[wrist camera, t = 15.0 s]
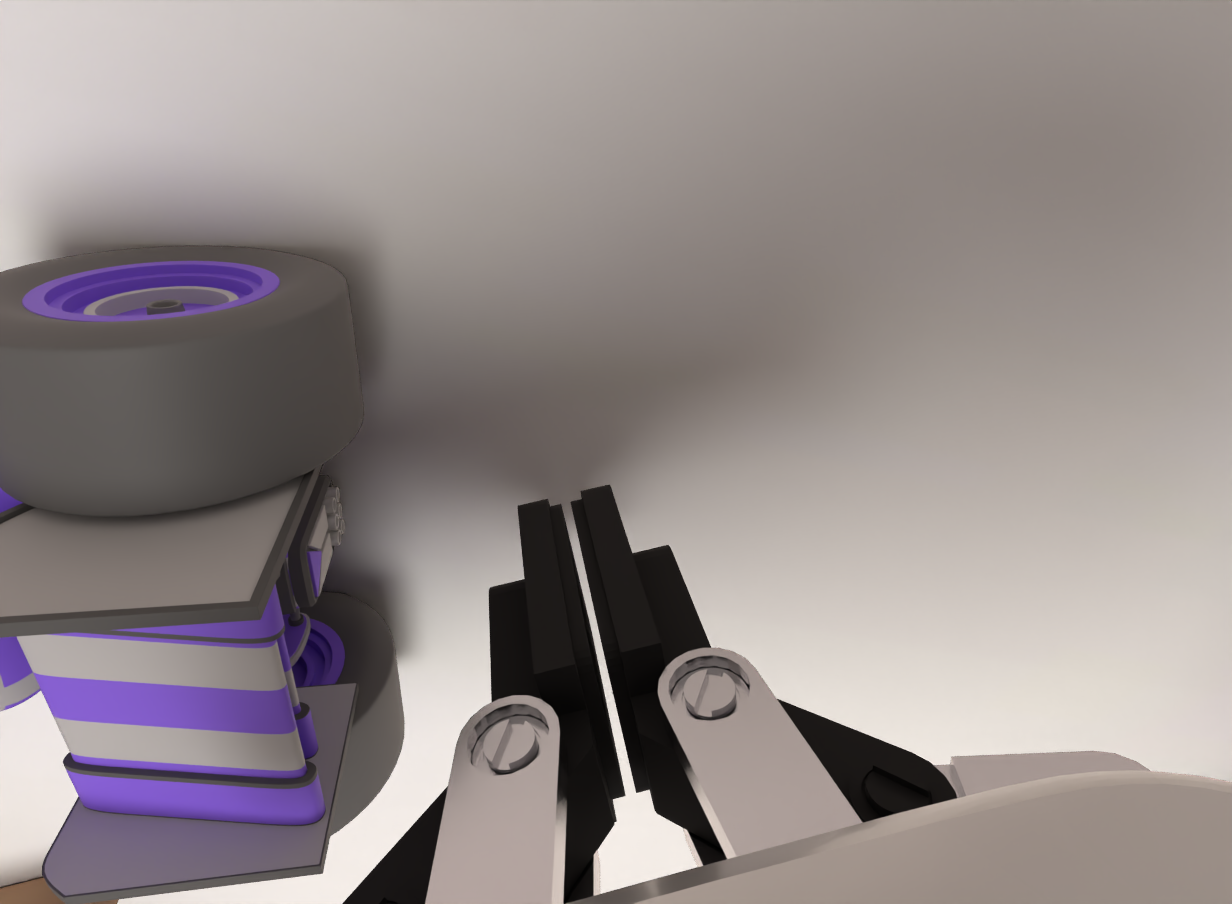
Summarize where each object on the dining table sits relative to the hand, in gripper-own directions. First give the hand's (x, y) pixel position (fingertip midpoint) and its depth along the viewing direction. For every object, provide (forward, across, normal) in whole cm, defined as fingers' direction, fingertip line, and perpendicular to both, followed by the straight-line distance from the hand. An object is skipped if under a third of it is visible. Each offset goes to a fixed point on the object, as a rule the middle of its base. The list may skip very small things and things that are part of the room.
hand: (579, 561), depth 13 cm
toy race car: (+3, +11, -2) cm, 11 cm away
